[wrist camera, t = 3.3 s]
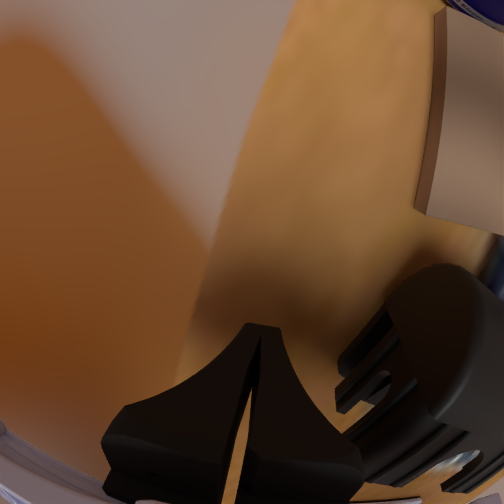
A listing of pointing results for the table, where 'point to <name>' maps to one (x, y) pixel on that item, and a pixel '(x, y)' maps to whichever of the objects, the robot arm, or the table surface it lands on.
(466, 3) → the energy drink
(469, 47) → the walnut stand
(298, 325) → the table surface
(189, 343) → the table surface
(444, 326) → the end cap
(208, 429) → the robot arm
